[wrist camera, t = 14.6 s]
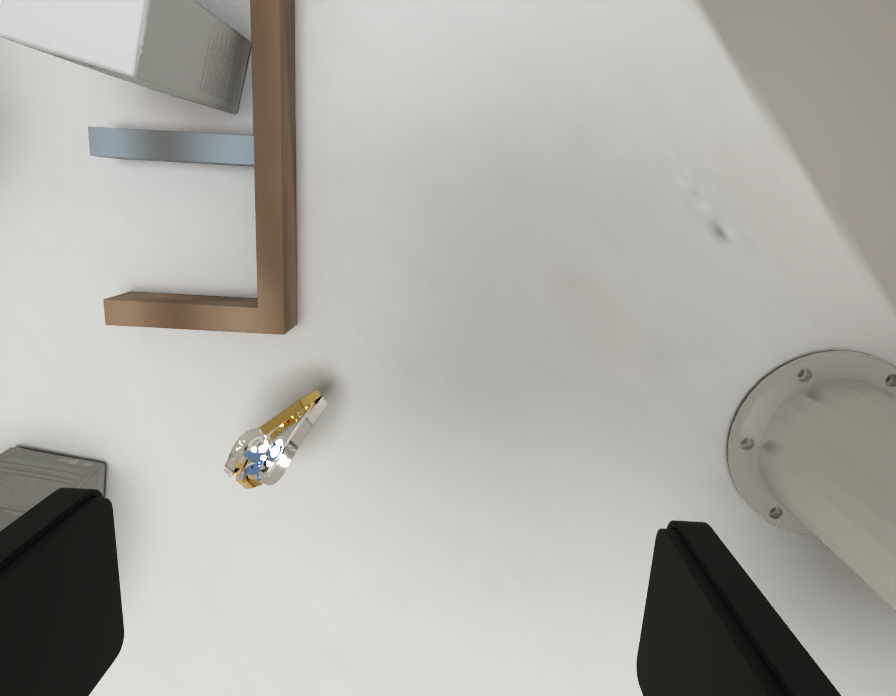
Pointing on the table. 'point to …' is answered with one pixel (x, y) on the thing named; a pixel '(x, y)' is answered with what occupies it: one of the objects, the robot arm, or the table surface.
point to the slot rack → (272, 191)
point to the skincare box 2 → (138, 43)
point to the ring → (259, 453)
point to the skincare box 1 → (41, 479)
